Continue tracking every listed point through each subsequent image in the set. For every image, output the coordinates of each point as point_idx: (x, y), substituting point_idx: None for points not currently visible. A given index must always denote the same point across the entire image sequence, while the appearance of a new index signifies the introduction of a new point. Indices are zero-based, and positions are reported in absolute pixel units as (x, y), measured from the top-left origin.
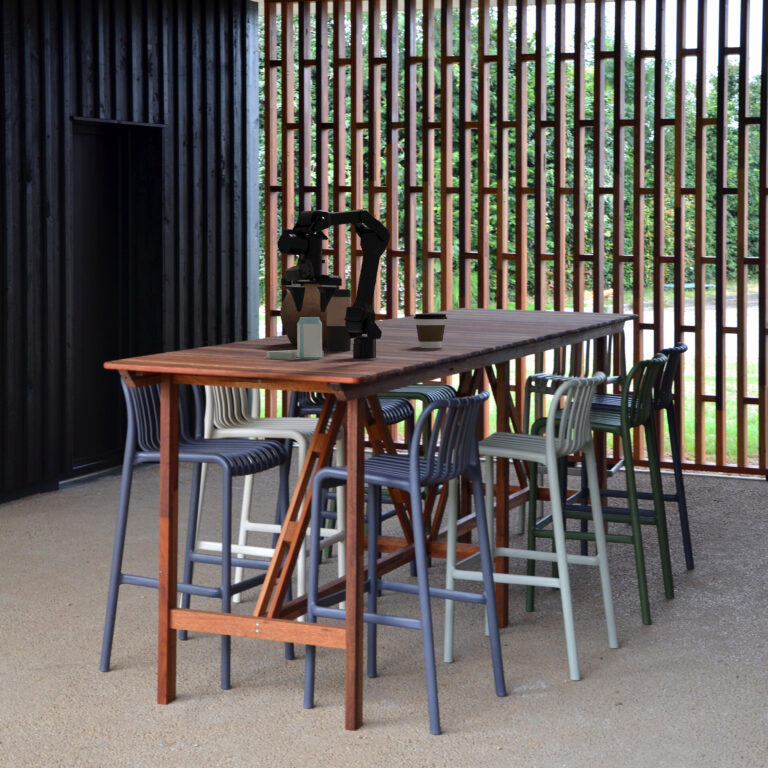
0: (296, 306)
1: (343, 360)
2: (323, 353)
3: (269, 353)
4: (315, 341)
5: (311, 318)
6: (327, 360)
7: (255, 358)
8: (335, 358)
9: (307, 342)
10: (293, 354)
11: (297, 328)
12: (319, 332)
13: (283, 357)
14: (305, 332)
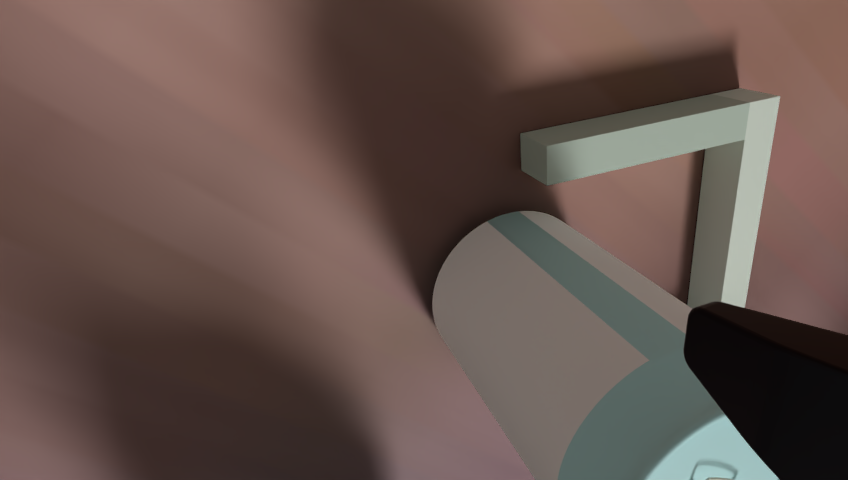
0: (804, 336)
1: (220, 390)
2: None
3: (743, 100)
4: (480, 352)
5: (634, 478)
6: (294, 302)
7: (798, 39)
8: (445, 431)
9: (511, 289)
10: (540, 164)
11: None
12: (513, 440)
13: (602, 120)
14: (573, 322)
